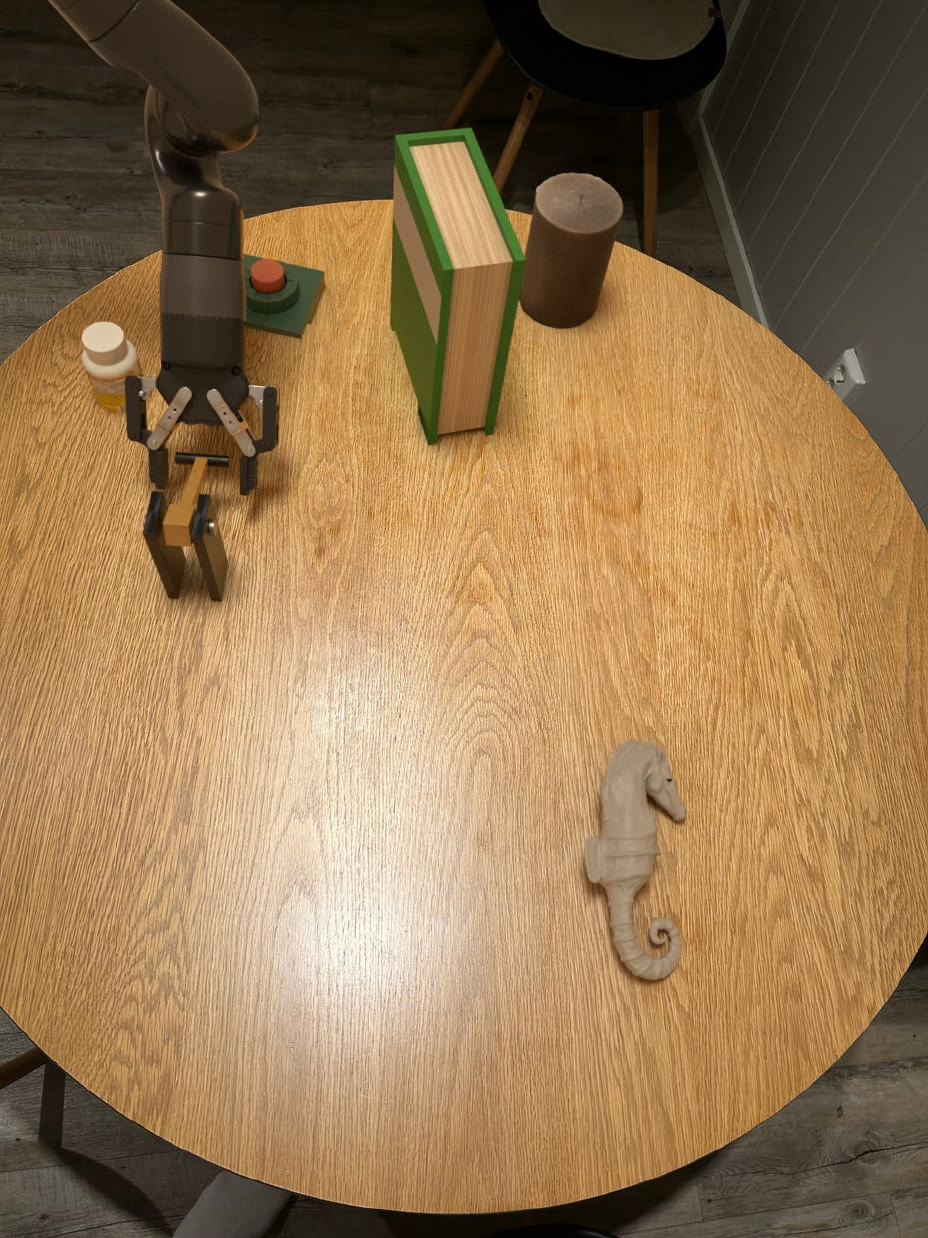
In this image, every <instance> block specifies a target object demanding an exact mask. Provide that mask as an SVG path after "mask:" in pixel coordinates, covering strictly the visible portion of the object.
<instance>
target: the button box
mask: <svg viewBox="0 0 928 1238" xmlns="http://www.w3.org/2000/svg"><path fill="white" fill-rule="evenodd" d="M263 259H266V258H265V257H259V256H257V255H256V256H255V255H251V254H247V253H243V261H242V262H243V263H244V275H245V283H246V301H247V313H246V328H249V329H254V330H259V331H264V332H268V333H273V334H276V335H282V336H287V337H291V338H295V339H302V337H303V336H304V335H303V334H304V332H305V329H306V328H307V325H311V324H312V322H313V319H314V316H315V314H316V312H317V308H318V306H319V303H320V301H321V298H322V295H323V292H324V290H325V287H326V278H325V277H326V276H325V271H324V270H320V269H316V268H311V267H306V266H303V265H302V266H301V265H297V264H293V263H287V262H285V261H281V260H276V259H274V260H275V261H277V262H278V263H280V264H281V265H282V267H283V270H284V279H285V284H284V287H283V288H282V289H281V290H280V291H279V292H277V293H273V294H263V293H260V292H258V291H257V290H256V289H255V288H254V287H253V285H252V279H251V267H252V265H253V264H254V263H256V262H257V261H259V260H263ZM270 259H271V260H273V259H272V258H270Z"/></svg>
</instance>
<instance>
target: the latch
mask: <svg viewBox="0 0 928 1238" xmlns="http://www.w3.org/2000/svg"><path fill="white" fill-rule="evenodd" d="M174 463H175V465H178V466H192V468H191V471H190V474H189V476H188V479H187V481H186V485H185V487H184V491H183V493H182V496H181V498H180V502H179V503H178V504H175V503H169V505H168V510H167V513H166V516H165V519H164V521H163V529H164V535H165V541H166V545H171V546H182V547H189V548H192V547H193V542H192V538H191V534H192V529H193V523H194V518H195V513H196V507H197V502H198V496H199V494H201V491H202V488H203V485H204V482H205V480H206V476H207V473H208V470H209V468H220V469H230V468H231V465H232V457H231V455H229V454H217V453H215V454H214V453H201V452H187V451H175V454H174Z"/></svg>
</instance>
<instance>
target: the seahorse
mask: <svg viewBox="0 0 928 1238" xmlns="http://www.w3.org/2000/svg"><path fill="white" fill-rule="evenodd" d="M676 784H677V783H676V780H675V778H674V777H673V773H672V770H671V767H670V764H669V759H668V757H667V756H665V754H664V752H663V750H662V748H661V746H660V745H657V746H656V745H655V743H654V742H651V741H647V740H645V739H644V740H642V739H634V740H629V741H625V742H623V743H622V742H621V743H620V744H619V745H618V746H617V747H616V748H615V749H614V750H613V752H612V753H611V755H610V758H609V760H608V763H607V768H606V770H605V772H604V774H603V778H602V780H601V784H600V788H599V798H600V806H601V826H600V827H601V828H600V832H599V835H598V838H597V837H595V836H593V835H589V836H587V838H586V839H585V842H584V846H583V847H584V848H583V860H584V866H585V870H586V874H587V877H588V880H589V882H591V883H593V884H599V885H601V886H602V887H603V889H604V890H605V893H606V896H607V901H608V903H607V906H608V907H609V912H610V913H609V914H610V923H609V926H610V928H611V930H612V933H613V934H612V935H613V939H612V942H613V944H614V946H615V949H616V952H617V953H618V955H619V957H620V958H619V960H620V962H621V963H622V962H623V964H624V965H625V967H626V968H627V969H628V970H630V971H631V973H632V975H633V976H635V977H640V978H642V979H645V980H650V981H651V980H652V981H656V980H659V979H661V980H662V979H665V978H667V977H668V976H669V975H671V973H672V972H673V971H675V969H676V968H677V966H678V964H679V961H680V960H681V958H682V946H683V942H682V938H681V936H680V930H679V928H678V927H677V926H676V925H675V924H674V922H673V921H672V920H671V919H670V918H665V917H659V916H658V917H654V918H653V920H652V922H651V926H650V927H649V929H648V934H649V939H650V940H651V942H652V943H653V944H655V945H663V944H665V942H666V940H667V938H666V937H662V938H659V937H658V933H659V931H662V930H664V931H666V932H667V936H668V938H669V939H670V942H669V944H668V946H669V948H668V951H667V952H666V953H665V955H664V956H661V957H659V956H653V957H652V956H650V955H647V954H646V953H645V952H644V950H643V949H642V948H641V947H640V946H639V944H638V941H637V937H638V935H637V934H636V933H635V927H634V919H633V916H632V915H633V914H632V909H633V905H634V903H635V896H636V894H637V893H638V892H639V890H640V889H642V887H643V886H644V885H645V884H647V882H649V880H650V878H652V877H653V875H654V872H655V871H654V864H655V861H656V859H657V857H658V856H661V854H662V852H661V851H660V849H659V845H658V844H659V843H658V842H657V834H658V831H659V827H658V826H657V817H656V815H655V813H654V812H653V810H651V808H650V807H649V804H648V797H647V796H650V797H651V798H653V799H654V801H655V802H656V803H657V804H658V805H659V806H660V807H661V808H663V809H664V810H665V811H666V812H667V814H669V815H670V816H671V817H672V819H673V820H674V821H677V822H682V821H684V820H685V819H686V818H687V814H688V808H687V807H686V805H684V804H683V801H682V799H681V796H680V795H679V791H678V789H677V785H676Z"/></svg>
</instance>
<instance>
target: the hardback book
mask: <svg viewBox="0 0 928 1238" xmlns="http://www.w3.org/2000/svg"><path fill="white" fill-rule="evenodd" d="M393 159H394V161H393V193H392V195H393V198H392V200H393V201H392V230H391V231H392V232H391V233H392V235H391V238H392V240H391V271H390V273H391V275H390V277H391V278H390V310H389V311H390V312H389V315H390V316H389V325H390V329H391V332H395V335H396V338H397V341H398V344H399V347H400V348H399V349H400V350H401V354H402V357H403V360H404V364H405V367H406V369H407V373H408V376H409V379H410V382H411V385H412V388H413V391H414V395H415V398H416V402H417V404H418V405H417V406H418V407H417V414H418V417H419V420H420V424H421V427H422V430H423V433H424V437H425V439H426V443H427V446H431V445H436V444H437V443H438V442H437V441H438V436H439V435H443V434H450V433H454V432H461V431H467V430H468V431H469V430H473V429H479V428H482V430H483V432H484V435H485V436H490V435H494V434H495V429H496V423H497V420H498V419H497V418H498V414H499V413H498V412H499V409H500V408H499V407H500V402H501V396H502V391H503V387H504V380H505V375H506V369H507V365H508V361H509V360H508V358H509V353H510V348H511V343H512V338H513V332H514V327H515V323H516V322H515V321H516V318H517V317H516V316H517V311H518V307H519V302H520V300H519V295H520V290H521V285H522V279H523V274H524V268H525V263H526V258H525V252H524V251H523V249H522V246H521V243H520V241H519V240H518V237H517V235H516V232H515V230H514V226H513V225H512V222H511V220H510V217H509V215H508V212H507V210H506V208H505V205H504V202H503V200H502V198H501V196H500V193H499V191H498V188H497V186H496V184H495V181H494V178H493V177H492V176H493V175H492V174H491V171H490V169H489V167H488V164H487V162H486V160H485V157H484V155H483V151H482V150H481V148H480V145H479V143H478V140H477V138H476V136H475V133H474V131H473V128H472V127H465V128H455V129H445V130H435V131H425V132H415V133H404V134H396V135H395V134H394V158H393Z"/></svg>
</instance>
